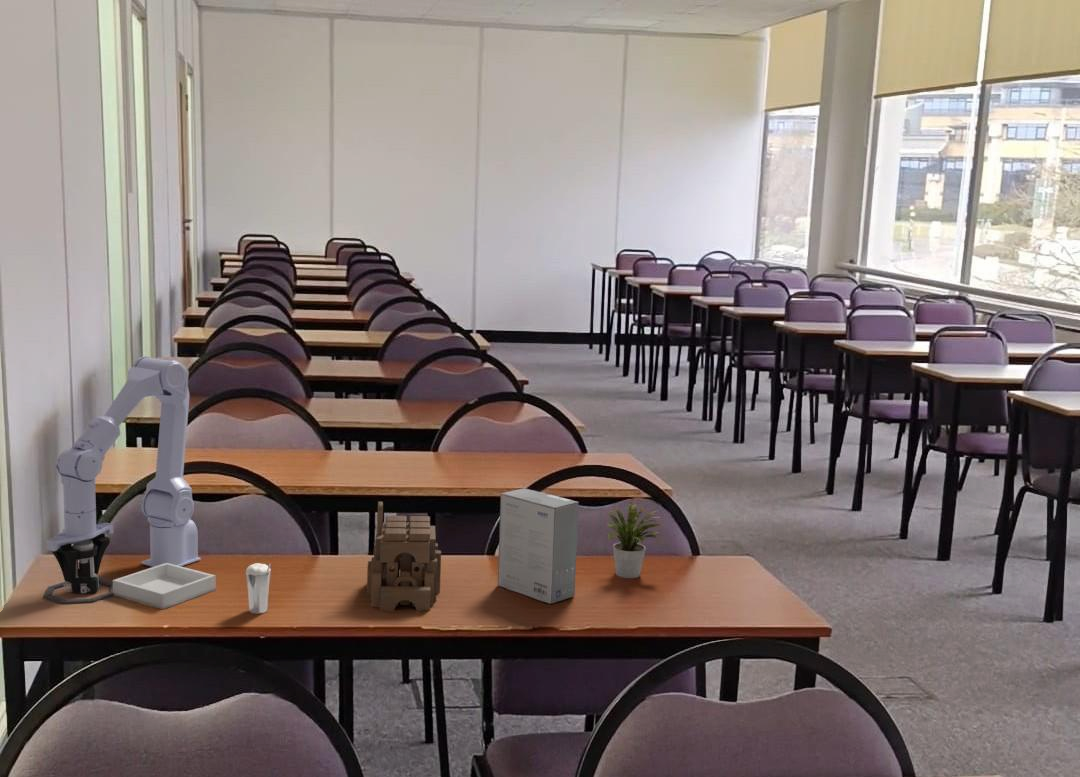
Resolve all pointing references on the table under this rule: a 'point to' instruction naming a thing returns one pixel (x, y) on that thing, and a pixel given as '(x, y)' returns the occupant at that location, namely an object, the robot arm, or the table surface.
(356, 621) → the table surface
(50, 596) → the seat ring
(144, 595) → the tray
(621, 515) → the house plant
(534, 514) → the hard drive box
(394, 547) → the wooden puzzle
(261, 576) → the milkshake
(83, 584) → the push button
